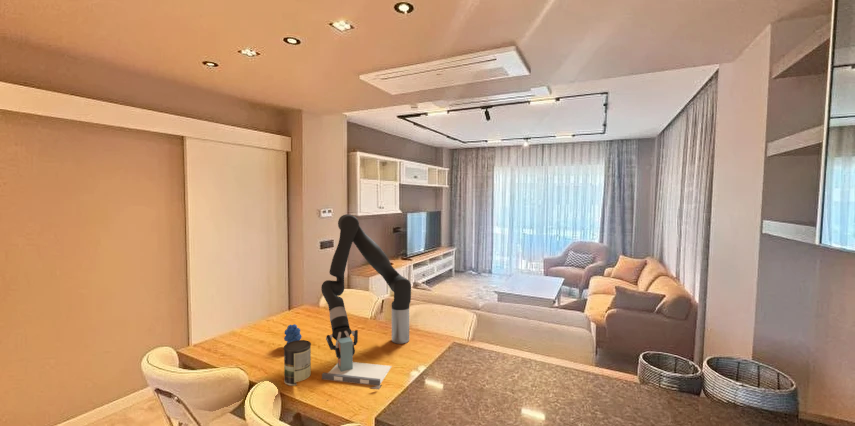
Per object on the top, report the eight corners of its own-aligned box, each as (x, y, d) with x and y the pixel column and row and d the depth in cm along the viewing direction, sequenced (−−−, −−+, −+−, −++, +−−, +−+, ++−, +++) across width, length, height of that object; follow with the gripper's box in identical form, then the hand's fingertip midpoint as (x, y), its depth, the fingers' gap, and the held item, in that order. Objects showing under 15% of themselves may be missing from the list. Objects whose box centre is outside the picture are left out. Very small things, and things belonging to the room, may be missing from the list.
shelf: (340, 364, 152) (340, 356, 152) (391, 369, 147) (391, 361, 147) (321, 382, 136) (321, 374, 136) (379, 389, 131) (379, 380, 131)
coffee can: (280, 386, 133) (279, 351, 133) (288, 373, 143) (288, 340, 143) (307, 385, 134) (307, 350, 134) (313, 372, 144) (313, 339, 144)
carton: (349, 363, 149) (349, 336, 148) (352, 368, 144) (352, 340, 144) (337, 366, 146) (337, 338, 146) (340, 371, 142) (340, 343, 141)
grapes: (308, 347, 169) (307, 323, 168) (296, 352, 163) (296, 327, 163) (292, 342, 175) (292, 319, 174) (280, 347, 169) (280, 323, 169)
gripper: (323, 318, 148) (330, 356, 137) (356, 312, 154) (364, 349, 144) (321, 326, 153) (327, 363, 142) (353, 320, 159) (361, 356, 149)
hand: (346, 356), depth 143 cm, fingers closed on carton, 5 cm apart
